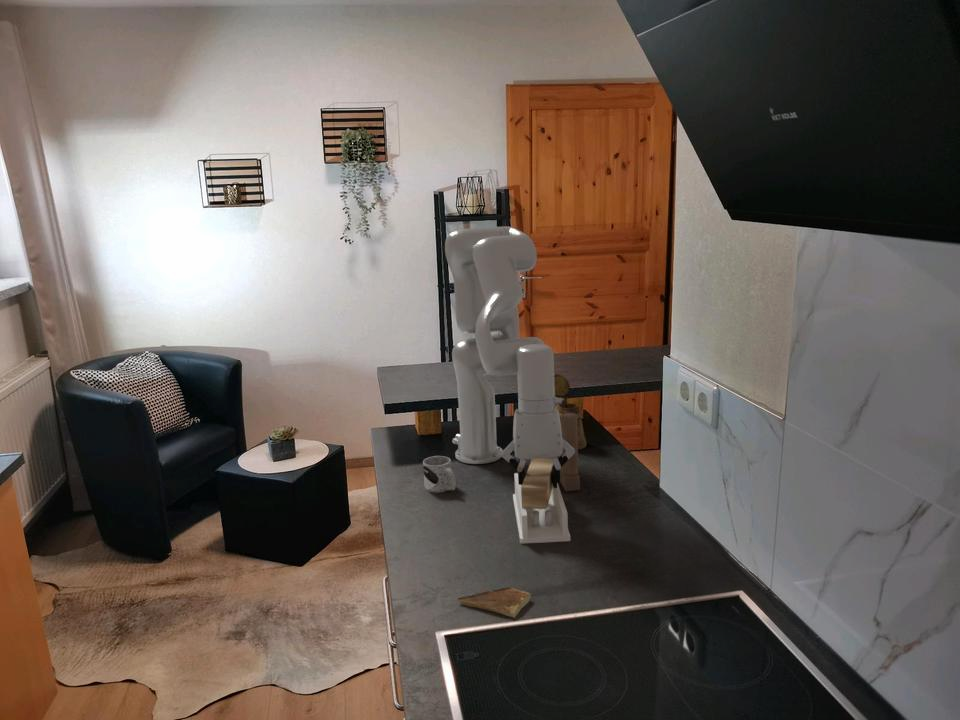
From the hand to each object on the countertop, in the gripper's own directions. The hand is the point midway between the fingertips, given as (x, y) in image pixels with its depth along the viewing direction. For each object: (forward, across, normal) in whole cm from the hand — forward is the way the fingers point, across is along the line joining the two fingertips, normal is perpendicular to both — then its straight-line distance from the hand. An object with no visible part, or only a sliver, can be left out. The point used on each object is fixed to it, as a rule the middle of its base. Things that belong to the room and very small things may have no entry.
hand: (539, 485), depth 158 cm
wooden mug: (+7, -12, -46) cm, 48 cm away
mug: (+8, +21, -19) cm, 29 cm away
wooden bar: (+2, 0, 0) cm, 2 cm away
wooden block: (+8, -8, -19) cm, 22 cm away
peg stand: (+8, 0, 0) cm, 8 cm away
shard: (+9, +10, +33) cm, 36 cm away
